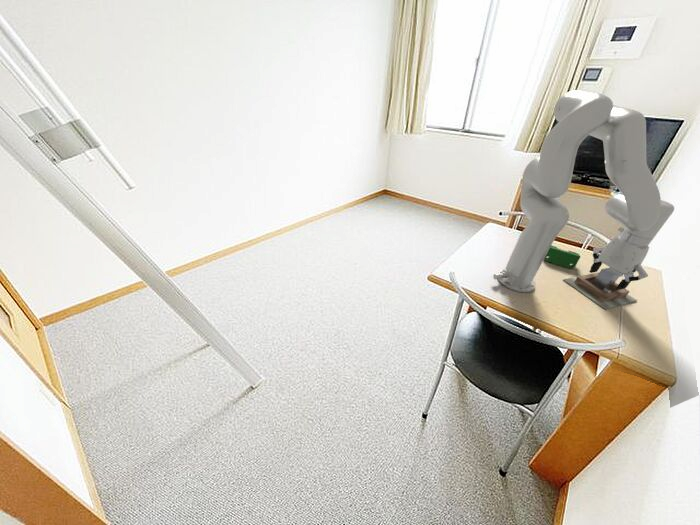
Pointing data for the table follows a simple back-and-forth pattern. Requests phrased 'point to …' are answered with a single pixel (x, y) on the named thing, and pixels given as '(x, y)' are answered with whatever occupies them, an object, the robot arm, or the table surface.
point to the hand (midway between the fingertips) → (605, 280)
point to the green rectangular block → (562, 257)
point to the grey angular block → (606, 279)
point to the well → (600, 292)
